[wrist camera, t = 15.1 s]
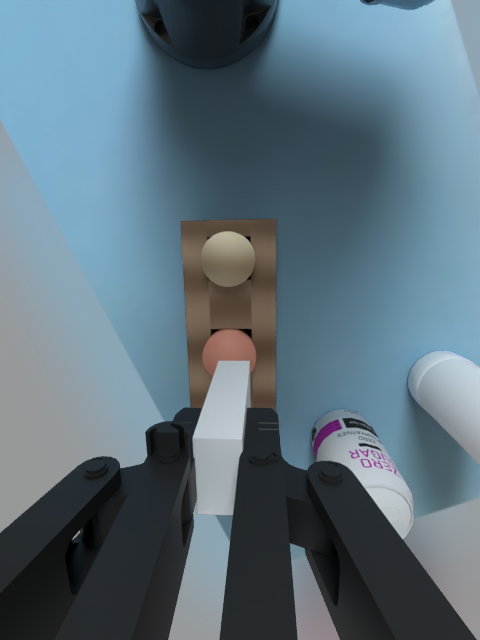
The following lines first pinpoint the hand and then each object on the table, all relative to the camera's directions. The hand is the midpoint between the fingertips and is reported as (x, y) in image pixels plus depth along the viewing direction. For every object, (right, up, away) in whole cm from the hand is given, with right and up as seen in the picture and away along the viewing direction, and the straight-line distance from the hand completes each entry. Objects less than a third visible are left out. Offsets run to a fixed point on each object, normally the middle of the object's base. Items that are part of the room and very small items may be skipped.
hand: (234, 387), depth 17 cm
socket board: (0, +1, +29) cm, 29 cm away
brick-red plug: (-1, +1, +26) cm, 26 cm away
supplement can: (+14, -12, +31) cm, 36 cm away
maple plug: (-1, +11, +26) cm, 28 cm away
